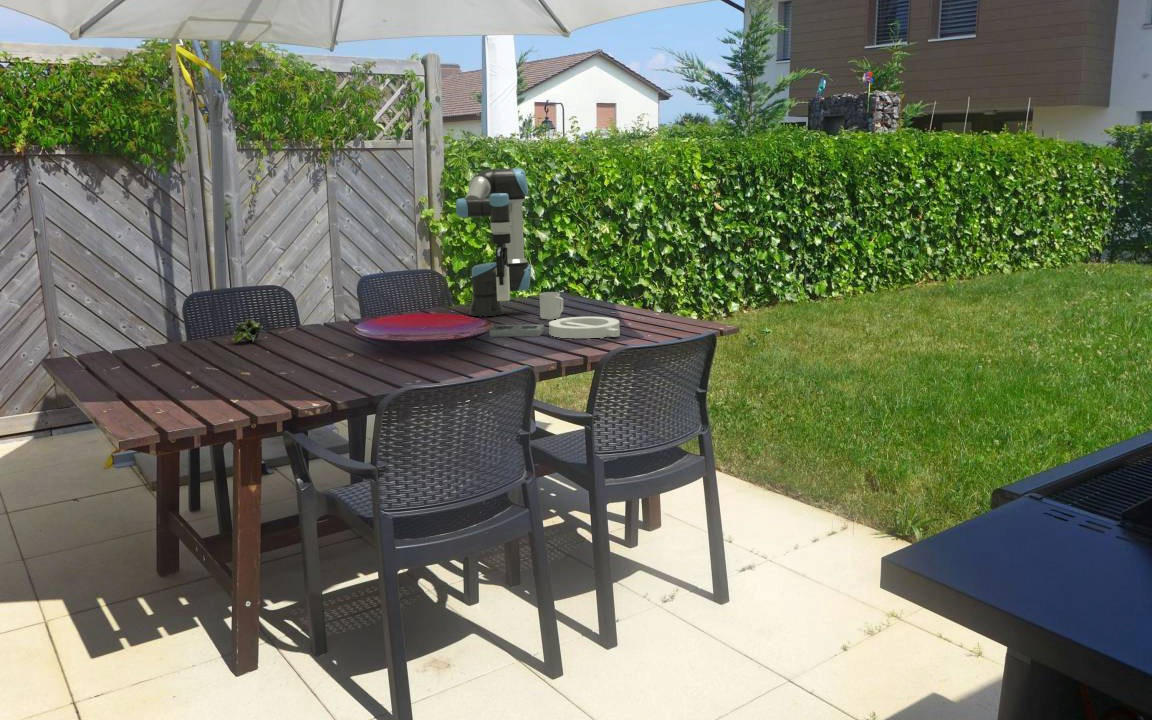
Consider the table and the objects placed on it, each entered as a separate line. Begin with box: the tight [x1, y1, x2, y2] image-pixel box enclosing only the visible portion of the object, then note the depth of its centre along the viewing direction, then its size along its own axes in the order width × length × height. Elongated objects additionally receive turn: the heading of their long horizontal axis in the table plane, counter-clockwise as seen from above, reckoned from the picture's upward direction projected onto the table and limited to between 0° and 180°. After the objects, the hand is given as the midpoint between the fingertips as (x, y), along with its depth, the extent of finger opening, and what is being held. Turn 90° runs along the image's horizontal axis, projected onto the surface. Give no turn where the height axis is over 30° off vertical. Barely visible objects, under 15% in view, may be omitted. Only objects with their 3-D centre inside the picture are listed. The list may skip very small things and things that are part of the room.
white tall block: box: [496, 265, 511, 302], centre depth 372 cm, size 4×4×14 cm
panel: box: [489, 323, 545, 338], centre depth 375 cm, size 13×20×2 cm, turn 84°
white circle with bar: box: [548, 316, 621, 339], centre depth 372 cm, size 28×28×5 cm
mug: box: [538, 291, 564, 321], centre depth 407 cm, size 12×9×11 cm
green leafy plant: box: [232, 318, 266, 343], centre depth 371 cm, size 11×11×12 cm
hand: (503, 292), depth 373 cm, fingers closed on white tall block, 4 cm apart
